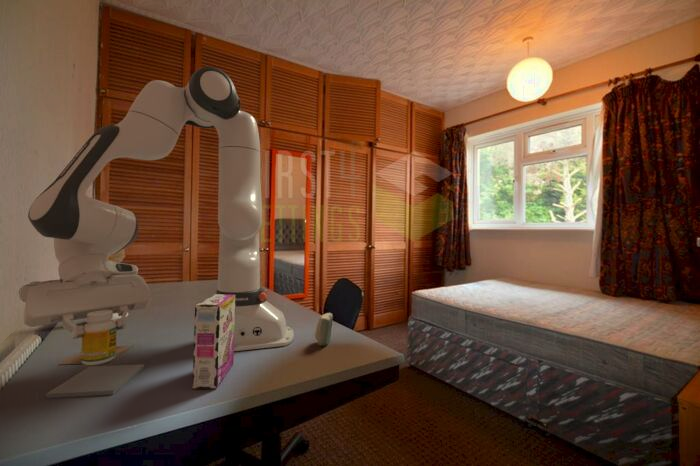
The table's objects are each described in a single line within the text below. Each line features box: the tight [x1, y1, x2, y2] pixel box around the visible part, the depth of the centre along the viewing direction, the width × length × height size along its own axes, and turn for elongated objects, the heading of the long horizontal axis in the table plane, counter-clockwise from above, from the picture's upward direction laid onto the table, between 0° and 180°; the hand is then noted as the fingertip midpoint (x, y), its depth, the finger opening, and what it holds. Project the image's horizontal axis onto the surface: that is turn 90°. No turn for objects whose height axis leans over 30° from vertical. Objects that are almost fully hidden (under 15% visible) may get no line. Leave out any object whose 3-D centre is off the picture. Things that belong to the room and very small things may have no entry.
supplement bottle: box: [81, 310, 118, 366], centre depth 61 cm, size 5×5×10 cm
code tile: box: [58, 345, 133, 366], centre depth 74 cm, size 10×10×1 cm
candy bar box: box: [192, 293, 236, 390], centre depth 64 cm, size 11×5×16 cm, turn 5°
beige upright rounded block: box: [314, 312, 334, 348], centre depth 83 cm, size 6×5×8 cm
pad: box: [45, 363, 146, 399], centre depth 61 cm, size 11×11×1 cm
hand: (100, 332), depth 61 cm, fingers closed on supplement bottle, 5 cm apart
